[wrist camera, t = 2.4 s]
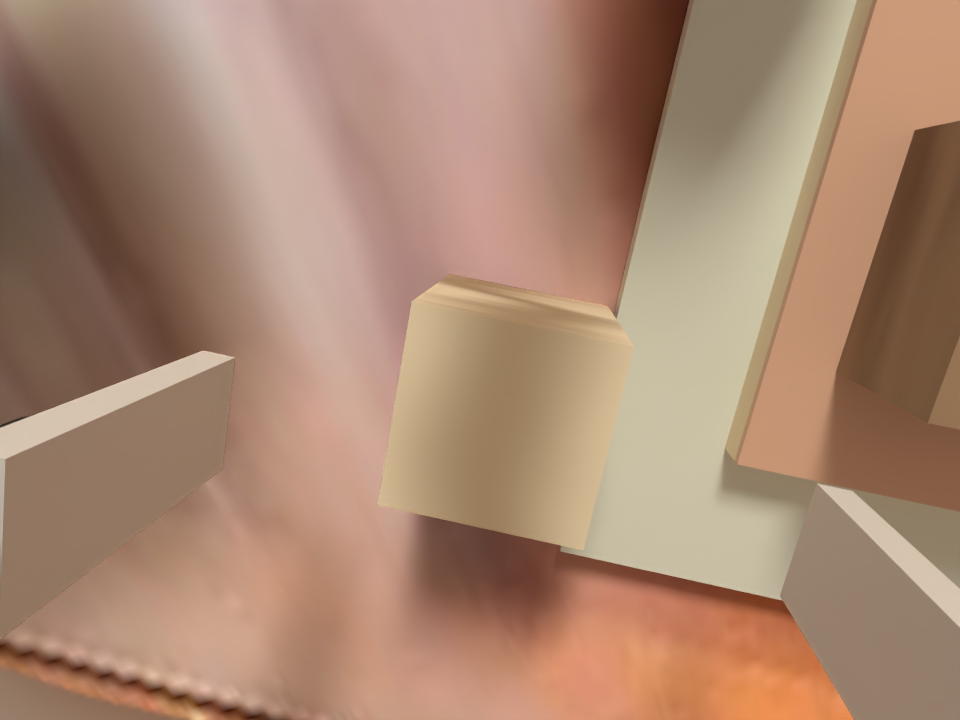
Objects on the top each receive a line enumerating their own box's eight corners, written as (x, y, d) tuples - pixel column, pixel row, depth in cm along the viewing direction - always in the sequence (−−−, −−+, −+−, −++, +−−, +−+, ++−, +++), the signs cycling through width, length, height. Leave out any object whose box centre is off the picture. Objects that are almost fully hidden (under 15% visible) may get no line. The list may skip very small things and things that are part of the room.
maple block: (423, 422, 25) (377, 505, 18) (450, 273, 23) (411, 301, 17) (572, 454, 24) (583, 550, 18) (607, 305, 23) (634, 347, 16)
